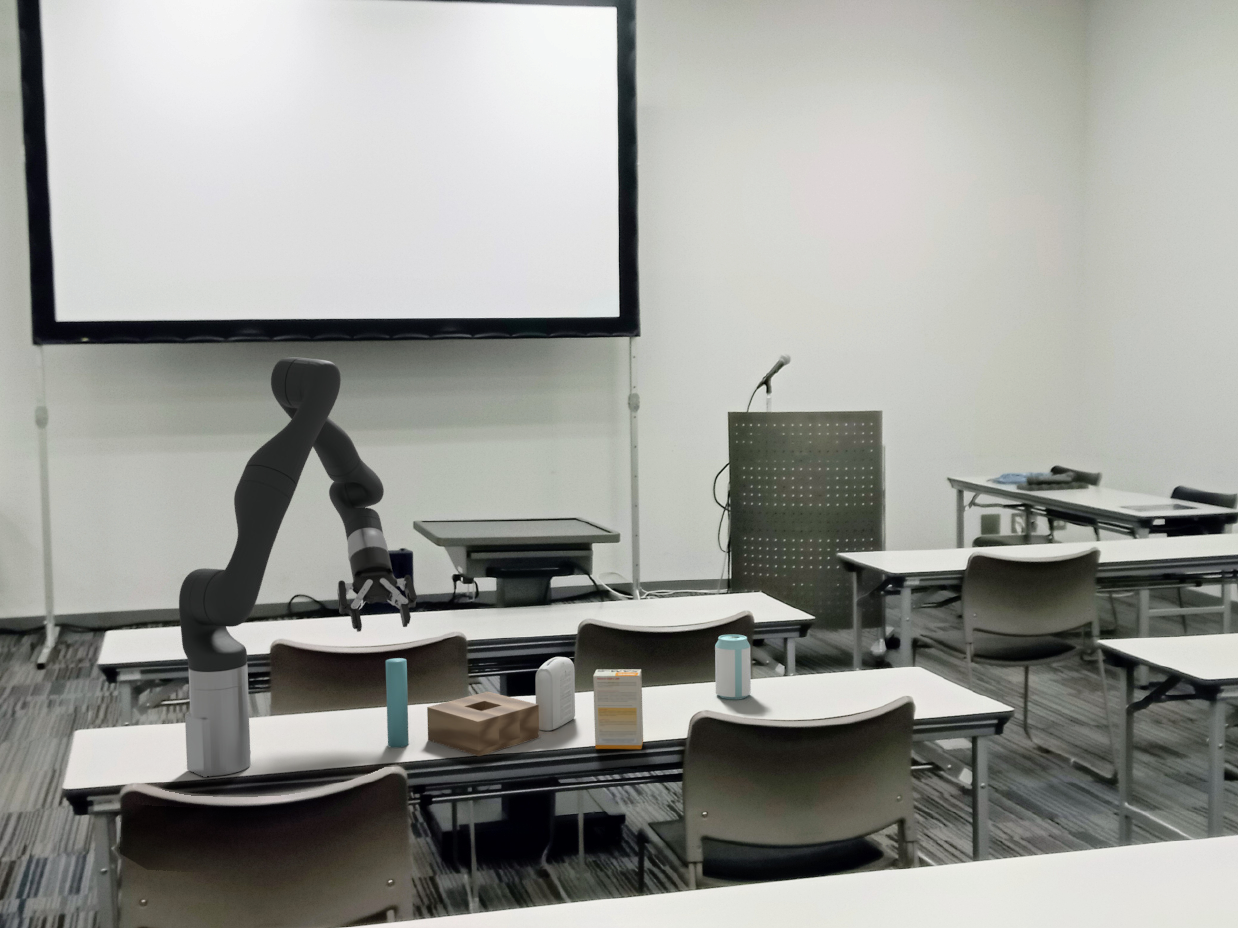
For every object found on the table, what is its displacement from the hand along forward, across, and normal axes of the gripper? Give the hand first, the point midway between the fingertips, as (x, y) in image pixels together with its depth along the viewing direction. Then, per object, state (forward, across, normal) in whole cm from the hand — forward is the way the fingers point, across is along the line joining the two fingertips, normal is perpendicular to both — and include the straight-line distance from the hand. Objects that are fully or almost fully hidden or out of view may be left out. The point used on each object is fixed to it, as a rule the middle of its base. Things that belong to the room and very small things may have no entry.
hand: (382, 626), depth 213 cm
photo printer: (+22, +29, +5) cm, 37 cm away
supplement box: (+34, +35, -7) cm, 49 cm away
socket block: (+24, +14, +3) cm, 28 cm away
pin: (+22, 0, +5) cm, 22 cm away
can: (+20, +68, +8) cm, 72 cm away
